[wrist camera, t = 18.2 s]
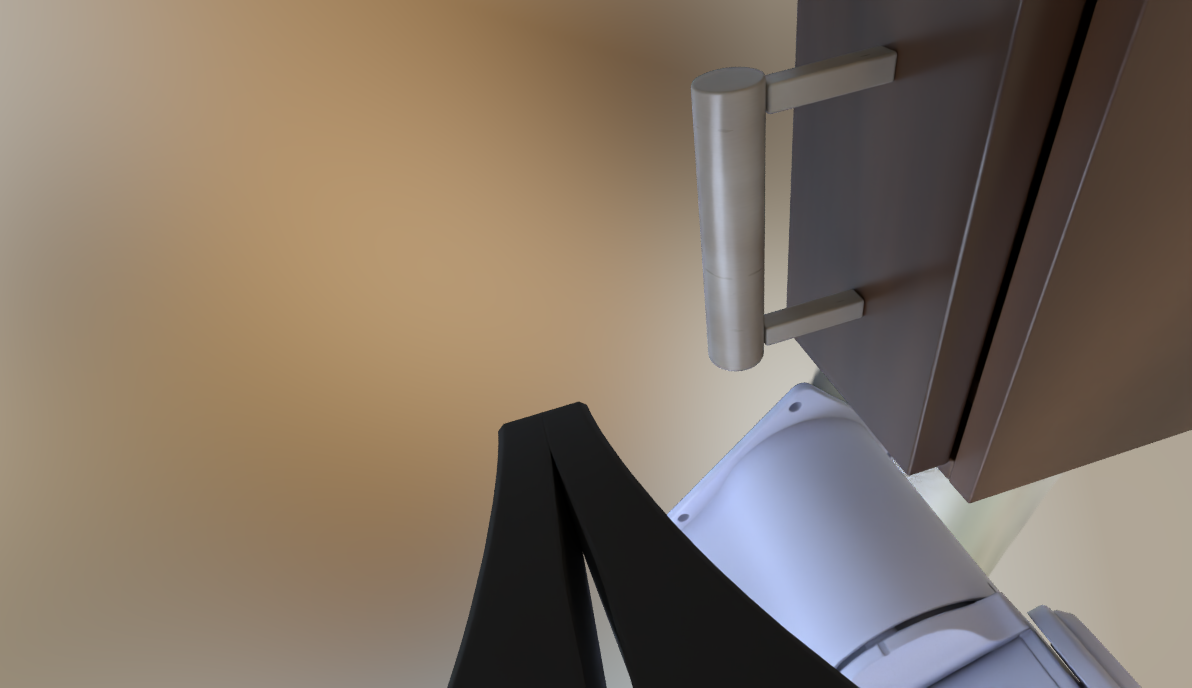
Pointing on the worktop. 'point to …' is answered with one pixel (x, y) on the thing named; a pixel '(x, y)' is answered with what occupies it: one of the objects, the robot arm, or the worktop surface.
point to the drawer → (886, 197)
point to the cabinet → (1097, 270)
